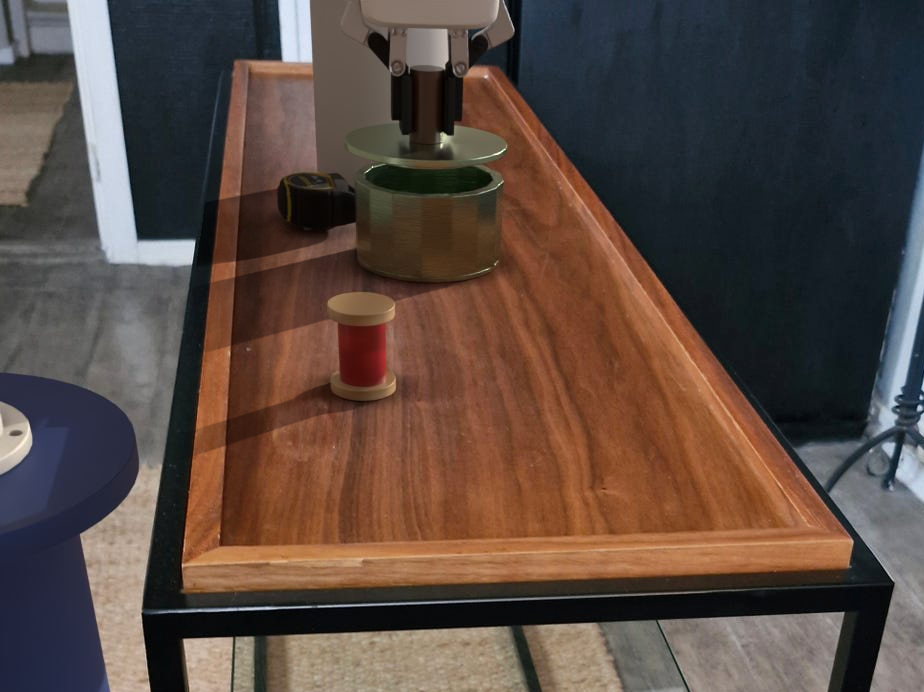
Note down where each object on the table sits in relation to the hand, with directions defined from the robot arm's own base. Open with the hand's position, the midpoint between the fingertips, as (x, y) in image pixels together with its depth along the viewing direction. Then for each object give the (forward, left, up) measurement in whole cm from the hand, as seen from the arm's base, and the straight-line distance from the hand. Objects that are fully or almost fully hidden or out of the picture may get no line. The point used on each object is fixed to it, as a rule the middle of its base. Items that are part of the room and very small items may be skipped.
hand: (426, 129), depth 94 cm
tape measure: (-8, +10, -10) cm, 16 cm away
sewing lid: (0, 0, -1) cm, 1 cm away
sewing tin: (0, 0, -10) cm, 10 cm away
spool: (-7, -26, -10) cm, 28 cm away
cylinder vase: (-2, +21, -10) cm, 24 cm away
